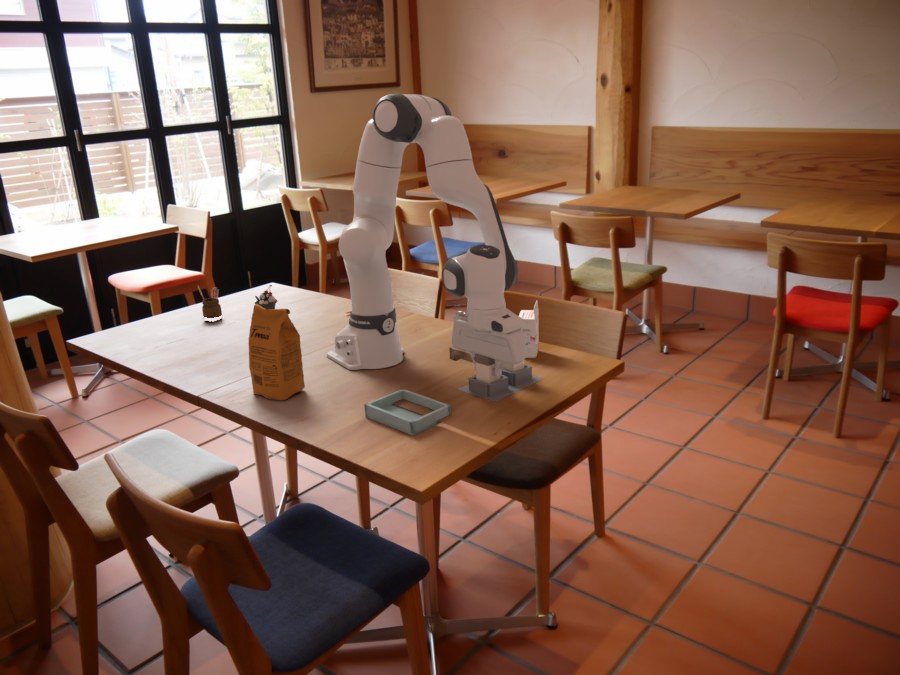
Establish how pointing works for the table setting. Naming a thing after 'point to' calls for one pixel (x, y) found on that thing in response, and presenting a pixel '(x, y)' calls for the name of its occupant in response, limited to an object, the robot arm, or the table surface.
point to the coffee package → (274, 354)
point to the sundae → (266, 300)
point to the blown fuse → (485, 369)
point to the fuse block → (501, 384)
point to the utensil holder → (211, 306)
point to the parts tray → (406, 412)
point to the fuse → (513, 366)
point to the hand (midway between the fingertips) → (488, 373)
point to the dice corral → (459, 354)
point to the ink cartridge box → (531, 330)
